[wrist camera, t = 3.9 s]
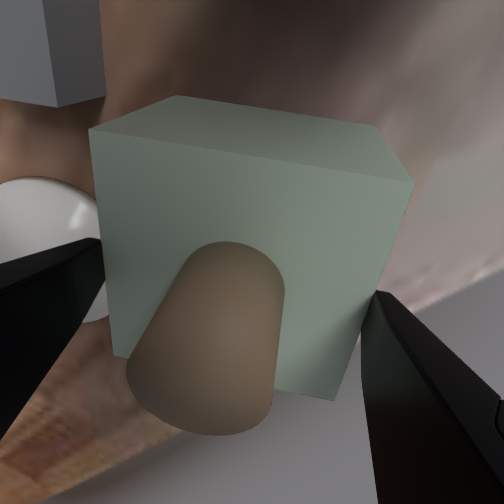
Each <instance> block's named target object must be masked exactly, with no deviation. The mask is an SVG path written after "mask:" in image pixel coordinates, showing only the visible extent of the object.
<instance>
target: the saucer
mask: <svg viewBox="0 0 504 504" xmlns="http://www.w3.org/2000/svg"><path fill="white" fill-rule="evenodd" d="M88 237H92V238H97V239H100V231H99V222H98V213H97V204H96V200H94V199H93V198H92V197H90V196H89V195H87V194H86V193H84V192H83V191H81V190H79V189H77V188H76V187H74V186H71V185H69V184H67V183H65V182H62V181H59V180H56V179H52V178H47V177H39V176H25V177H19V178H15V179H12V180H9V181H7V182H5V183H3V184H0V264H1V263H4V262H7V261H11V260H14V259H17V258H21V257H24V256H27V255H31V254H34V253H37V252H41V251H44V250H47V249H51V248H54V247H57V246H61V245H64V244H67V243H71V242H74V241H77V240H81V239H84V238H88ZM107 315H109V311H108V302H107V293H106V284H105V282H104V284H103V285H102V287H101V289H100V291H99V293H98V295H97V297H96V298H95V300H94V302H93V304H92V306H91V308H90V310H89V311H88V313H87V315H86V317H85V319H84V320H83V322H82V323H84V322H91V321H96V320H99V319H101V318H104V317H106V316H107Z"/></svg>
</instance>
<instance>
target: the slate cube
mask: <svg viewBox="0 0 504 504" xmlns="http://www.w3.org/2000/svg"><path fill="white" fill-rule="evenodd" d="M103 96H106V87H105V75H104V62H103V50H102V38H101V25H100V13H99V1H98V0H0V99H6V100H13V101H19V102H25V103H31V104H38V105H44V106H50V107H56V108H59V107H63V106H67V105H71V104H75V103H79V102H83V101H87V100H91V99H95V98H99V97H103Z"/></svg>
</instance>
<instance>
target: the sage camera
mask: <svg viewBox="0 0 504 504" xmlns="http://www.w3.org/2000/svg"><path fill="white" fill-rule="evenodd" d="M88 133H89V142H90V150H91V159H92V168H93V177H94V186H95V195H96V204H97V213H98V222H99V231H100V240H101V243H102V250H103V259H104V268H105V277H106V280H105V284H106V293H107V302H108V311H109V320H110V329H111V338H112V347H113V356H117V357H122V358H127V359H128V362H127V367H126V375H127V381H128V383H129V386H130V388H131V390H132V392H133V394H134V395H135V397H136V398H137V400H138V401H139V402H140V403H141V404H142V405H143V406H144V407H145V408H146V409H147V410H148V411H149V412H151V413H152V414H153V415H155V416H156V417H158V418H159V419H161V420H163V421H164V422H166V423H168V424H170V425H172V426H175V427H177V428H180V429H183V430H186V431H189V432H193V433H198V434H203V435H231V434H237V433H240V432H243V431H246V430H249V429H251V428H253V427H254V426H256V425H258V424H259V423H260V422H261V421H262V420H263V419H264V418H265V417H266V416H267V414H268V412H269V411H270V407H271V404H272V397H273V389H277V390H282V391H286V392H291V393H296V394H301V395H306V396H311V397H316V398H320V399H325V400H330V401H334V400H335V397H336V395H337V392H338V389H339V387H340V384H341V381H342V379H343V376H344V373H345V371H346V368H347V366H348V363H349V360H350V358H351V355H352V352H353V350H354V347H355V344H356V342H357V339H358V336H359V334H360V331H361V326H362V323H363V321H364V318H365V315H366V312H367V310H368V307H369V304H370V302H371V299H372V296H373V294H374V293H375V291H376V288H377V286H378V283H379V280H380V278H381V275H382V272H383V270H384V267H385V264H386V262H387V259H388V256H389V253H390V251H391V248H392V245H393V243H394V240H395V237H396V235H397V232H398V229H399V227H400V224H401V221H402V219H403V216H404V213H405V211H406V208H407V205H408V203H409V200H410V197H411V195H412V192H413V189H414V187H415V184H416V183H415V181H414V180H413V178H412V177H411V176H410V174H409V173H408V171H407V170H406V168H405V167H404V166H403V164H402V163H401V161H400V160H399V159H398V157H397V156H396V154H395V153H394V152H393V150H392V149H391V147H390V146H389V145H388V143H387V142H386V140H385V139H384V138H383V136H382V135H381V133H380V132H379V130H378V129H377V128H376V126H375V125H368V124H362V123H355V122H349V121H342V120H336V119H329V118H323V117H317V116H310V115H304V114H297V113H291V112H284V111H278V110H272V109H265V108H259V107H252V106H246V105H239V104H233V103H226V102H220V101H214V100H207V99H201V98H194V97H188V96H181V95H174V96H172V97H169V98H167V99H164V100H162V101H159V102H156V103H154V104H151V105H149V106H146V107H144V108H141V109H139V110H136V111H133V112H131V113H128V114H126V115H123V116H121V117H118V118H115V119H113V120H110V121H108V122H105V123H103V124H100V125H97V126H95V127H92V128H90V129H88Z"/></svg>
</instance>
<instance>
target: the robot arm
mask: <svg viewBox="0 0 504 504" xmlns="http://www.w3.org/2000/svg"><path fill="white" fill-rule="evenodd" d="M105 280H106V277H105V268H104V259H103V250H102V243H101V240H100V239H97V238H92V237H88V238H84V239H81V240H77V241H74V242H71V243H67V244H64V245H61V246H57V247H54V248H51V249H47V250H44V251H41V252H37V253H34V254H31V255H27V256H24V257H21V258H17V259H14V260H11V261H7V262H4V263H1V264H0V440H1V439H2V438H3V436H4V435H5V433H6V432H7V430H8V429H9V427H10V426H11V425H12V423H13V422H14V420H15V419H16V417H17V416H18V415H19V413H20V412H21V410H22V409H23V407H24V406H25V405H26V403H27V402H28V400H29V399H30V397H31V396H32V394H33V393H34V392H35V390H36V389H37V387H38V386H39V384H40V383H41V382H42V380H43V379H44V377H45V376H46V374H47V373H48V371H49V370H50V369H51V367H52V366H53V364H54V363H55V361H56V360H57V359H58V357H59V356H60V354H61V353H62V351H63V350H64V348H65V347H66V346H67V344H68V343H69V341H70V340H71V338H72V337H73V336H74V334H75V333H76V331H77V330H78V328H79V327H80V325H81V324H82V322H83V320H84V319H85V317H86V315H87V313H88V311H89V310H90V308H91V306H92V304H93V302H94V300H95V298H96V297H97V295H98V293H99V291H100V289H101V287H102V285H103V284H104V282H105ZM361 378H362V389H363V396H364V403H365V411H366V418H367V426H368V433H369V440H370V447H371V455H372V462H373V469H374V476H375V484H376V491H377V498H378V504H504V400H500V399H501V397H500V396H499V395H498V394H497V393H496V392H495V391H494V390H493V389H491V387H489V385H488V384H486V383H485V382H484V381H483V380H482V379H481V378H480V377H479V376H478V375H477V374H476V373H475V372H474V371H472V370H471V369H470V367H468V366H467V365H466V364H465V363H464V362H463V361H462V360H461V359H460V358H459V357H458V356H457V355H456V354H455V353H454V352H453V351H451V350H450V349H449V348H448V347H447V346H446V345H445V344H444V343H443V342H442V341H441V340H440V339H438V337H437V336H436V335H434V334H433V333H432V332H431V331H430V330H429V329H428V328H427V327H426V326H425V325H424V324H423V323H422V322H421V321H420V320H419V319H417V318H416V317H415V316H414V315H413V314H412V313H411V312H410V311H409V310H408V309H407V308H406V307H405V306H404V305H403V304H402V303H401V302H399V301H398V300H397V299H396V298H395V297H394V296H393V295H392V294H391V293H389V292H384V291H379V290H376V291H375V293H374V294H373V296H372V299H371V302H370V304H369V307H368V310H367V312H366V315H365V318H364V321H363V323H362V326H361Z"/></svg>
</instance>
